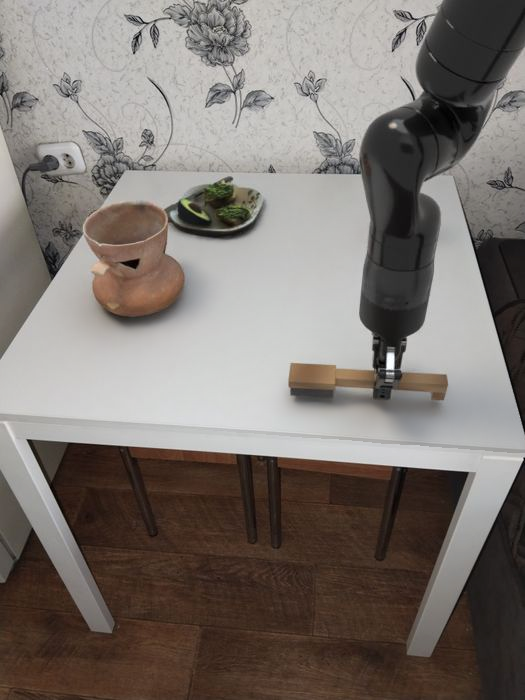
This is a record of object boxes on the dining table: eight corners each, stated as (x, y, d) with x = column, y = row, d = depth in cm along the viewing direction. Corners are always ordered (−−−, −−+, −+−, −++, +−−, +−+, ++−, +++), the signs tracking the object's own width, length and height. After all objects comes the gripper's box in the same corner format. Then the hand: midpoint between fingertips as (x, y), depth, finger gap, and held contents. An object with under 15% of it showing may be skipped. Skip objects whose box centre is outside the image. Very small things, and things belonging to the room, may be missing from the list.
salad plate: (194, 179, 123) (191, 159, 120) (276, 190, 119) (276, 169, 115) (155, 229, 110) (150, 207, 107) (245, 243, 106) (243, 221, 102)
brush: (442, 386, 78) (446, 369, 76) (444, 406, 75) (448, 389, 73) (290, 378, 80) (290, 361, 78) (288, 396, 78) (288, 380, 75)
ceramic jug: (151, 342, 88) (133, 264, 78) (73, 316, 93) (47, 240, 83) (209, 274, 99) (200, 199, 90) (138, 255, 104) (122, 181, 94)
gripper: (436, 329, 60) (413, 434, 72) (425, 251, 70) (407, 355, 82) (361, 325, 61) (351, 430, 73) (361, 249, 71) (352, 352, 83)
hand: (381, 390), depth 77 cm, fingers closed on brush, 2 cm apart
